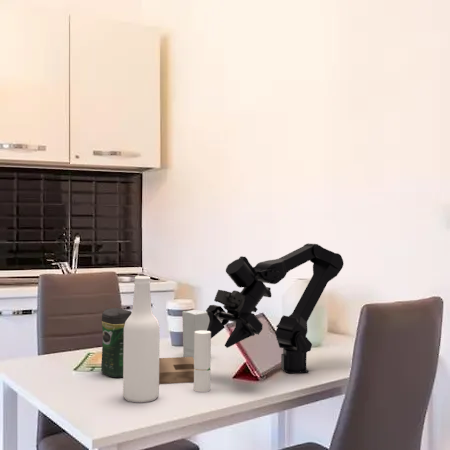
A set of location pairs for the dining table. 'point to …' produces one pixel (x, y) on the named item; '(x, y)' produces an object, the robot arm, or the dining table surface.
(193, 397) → the dining table surface
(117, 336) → the coffee jar
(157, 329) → the alcohol
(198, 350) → the tube
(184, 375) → the wooden block with hole
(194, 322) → the skincare box
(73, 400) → the dining table surface
